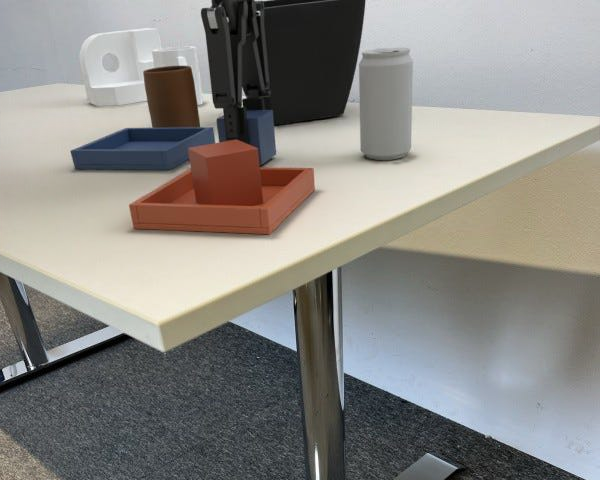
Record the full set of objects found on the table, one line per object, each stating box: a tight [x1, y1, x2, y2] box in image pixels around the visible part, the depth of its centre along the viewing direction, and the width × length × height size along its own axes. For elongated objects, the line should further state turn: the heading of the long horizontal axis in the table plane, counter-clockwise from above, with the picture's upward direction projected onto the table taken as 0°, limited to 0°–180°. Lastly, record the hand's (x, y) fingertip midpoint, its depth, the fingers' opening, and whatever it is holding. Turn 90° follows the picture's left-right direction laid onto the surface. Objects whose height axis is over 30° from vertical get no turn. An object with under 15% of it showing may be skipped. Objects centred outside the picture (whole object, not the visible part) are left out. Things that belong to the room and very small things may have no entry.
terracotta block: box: [188, 139, 263, 206], centre depth 67 cm, size 6×6×6 cm
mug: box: [143, 66, 201, 128], centre depth 104 cm, size 12×8×9 cm, turn 23°
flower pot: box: [242, 0, 367, 126], centre depth 106 cm, size 19×19×17 cm
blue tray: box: [70, 126, 216, 171], centre depth 92 cm, size 15×15×2 cm
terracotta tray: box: [128, 166, 316, 235], centre depth 68 cm, size 15×15×2 cm
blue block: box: [216, 110, 277, 166], centre depth 83 cm, size 6×6×6 cm
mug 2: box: [152, 45, 204, 106], centre depth 125 cm, size 12×9×10 cm
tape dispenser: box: [78, 27, 163, 107], centre depth 136 cm, size 16×10×13 cm, turn 120°
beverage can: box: [358, 47, 414, 161], centre depth 80 cm, size 6×6×12 cm
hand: (249, 156), depth 85 cm, fingers closed on blue block, 5 cm apart
